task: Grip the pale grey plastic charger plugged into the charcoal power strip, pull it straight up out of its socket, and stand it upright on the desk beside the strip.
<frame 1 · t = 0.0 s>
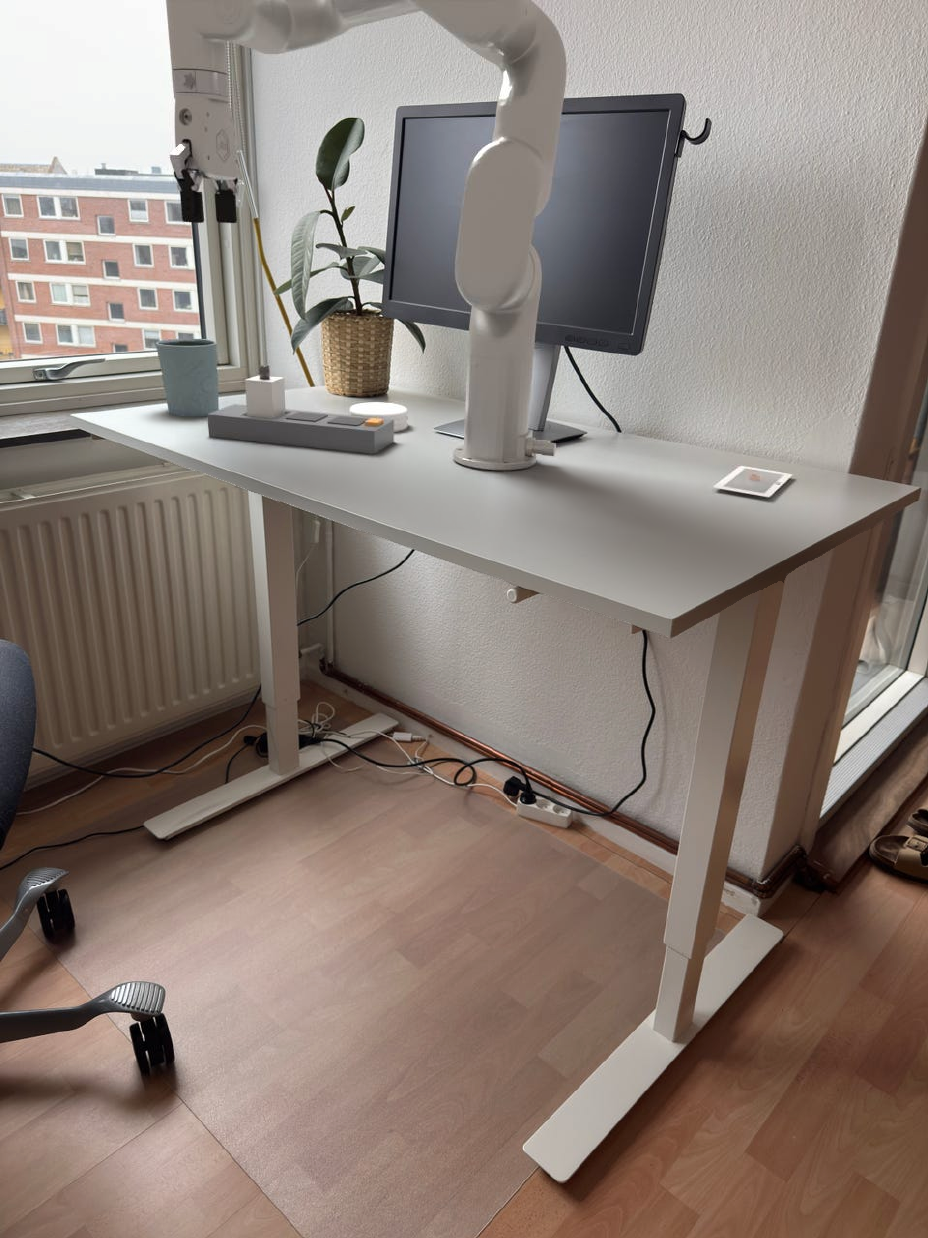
hand: (210, 222, 131), 31 cm above the table, fingers open, 9 cm apart
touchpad: (752, 489, 128), on the table
charger: (267, 435, 143), resting in power strip
power strip: (301, 438, 142), on the table
blue-grey tapered cup: (192, 412, 157), on the table
coaster: (378, 428, 153), on the table
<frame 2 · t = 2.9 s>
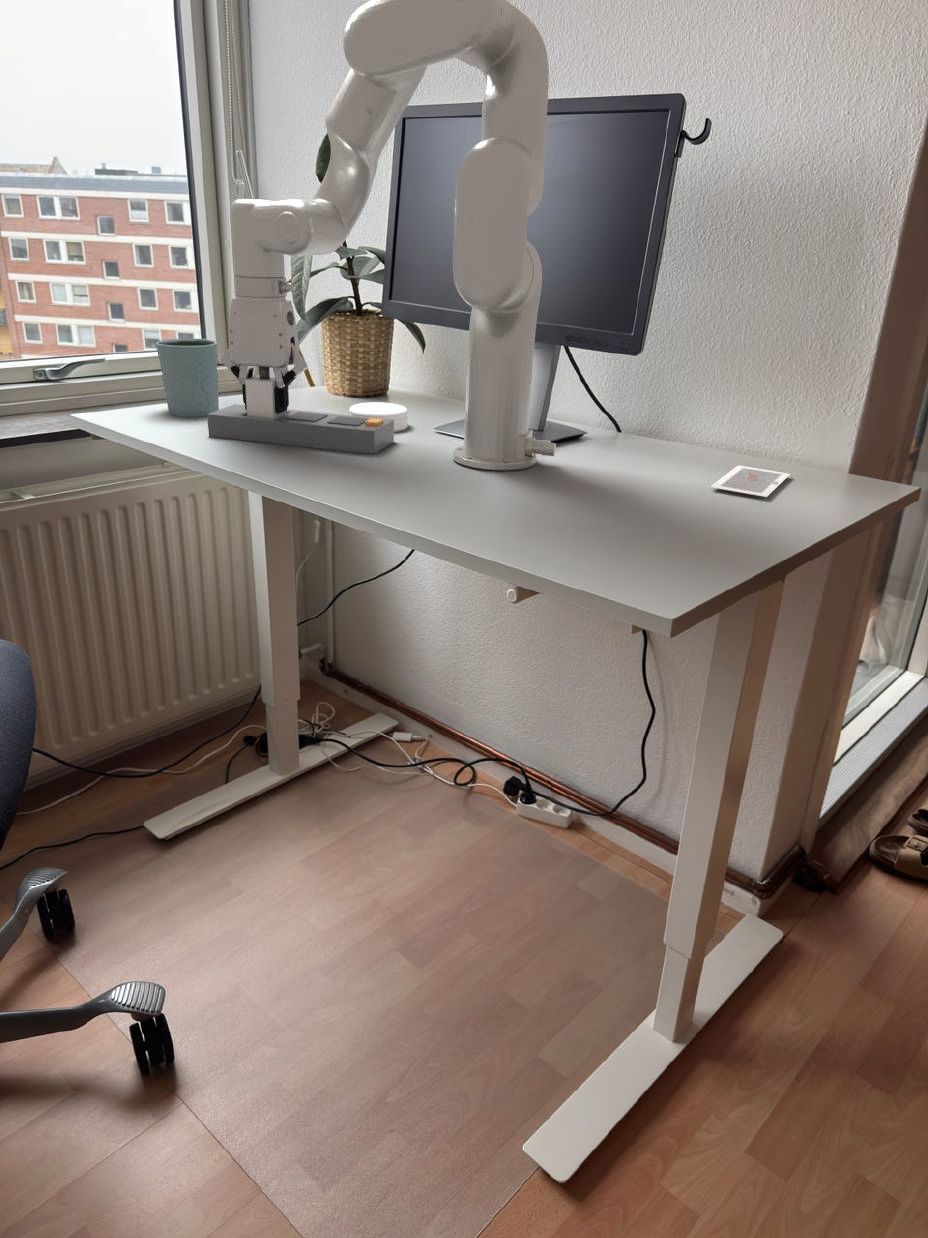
hand: (266, 409, 141), 4 cm above the table, fingers closed on charger, 4 cm apart
charger: (267, 435, 143), resting in power strip, touching gripper
everything else where it was.
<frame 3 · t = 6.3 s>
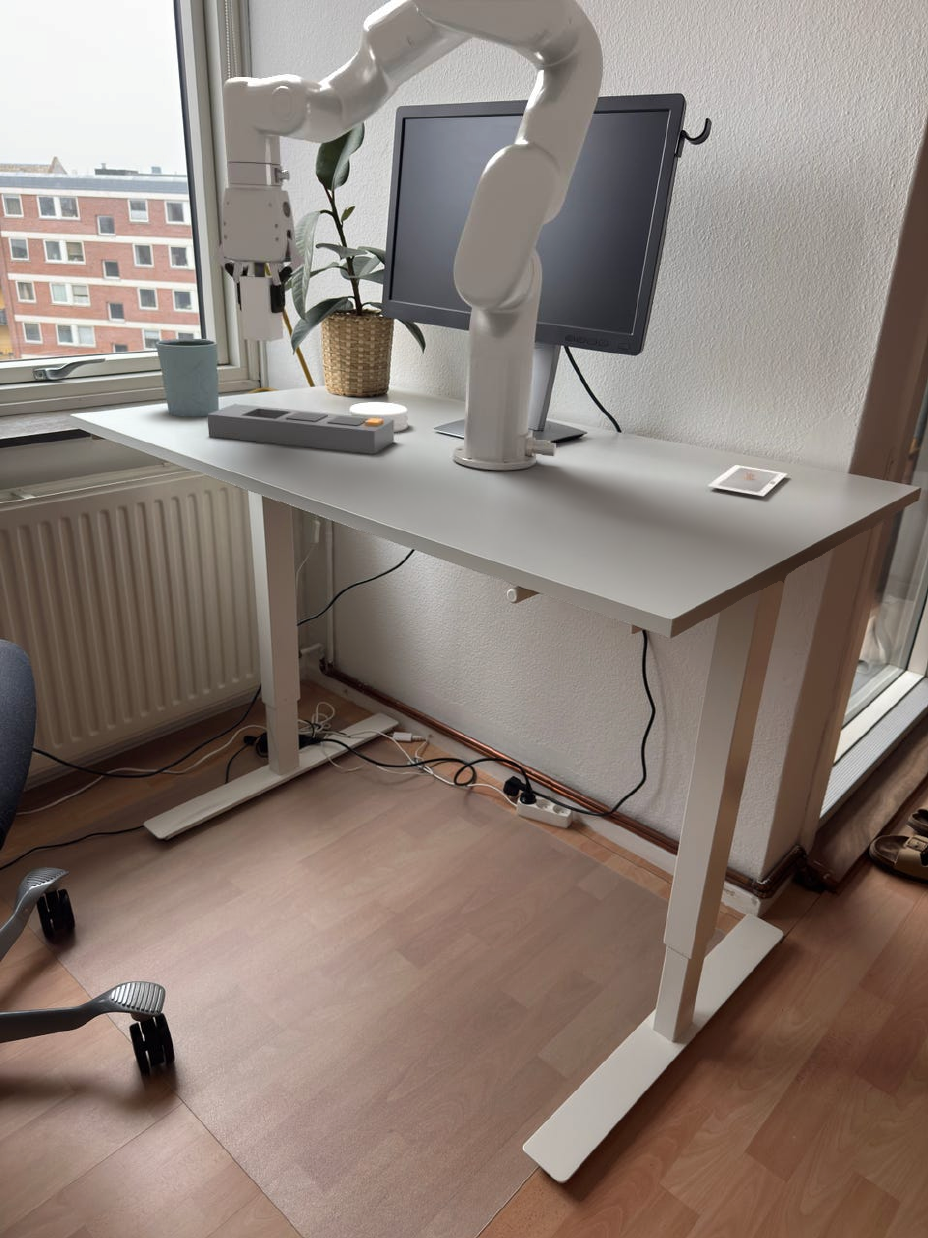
hand: (261, 309, 135), 19 cm above the table, fingers closed on charger, 4 cm apart
charger: (263, 338, 137), point 15 cm above the table, touching gripper
everything else where it was.
when the fingers open (6 cm above the table, at t = 10.0 s): charger drops 1 cm, on the table.
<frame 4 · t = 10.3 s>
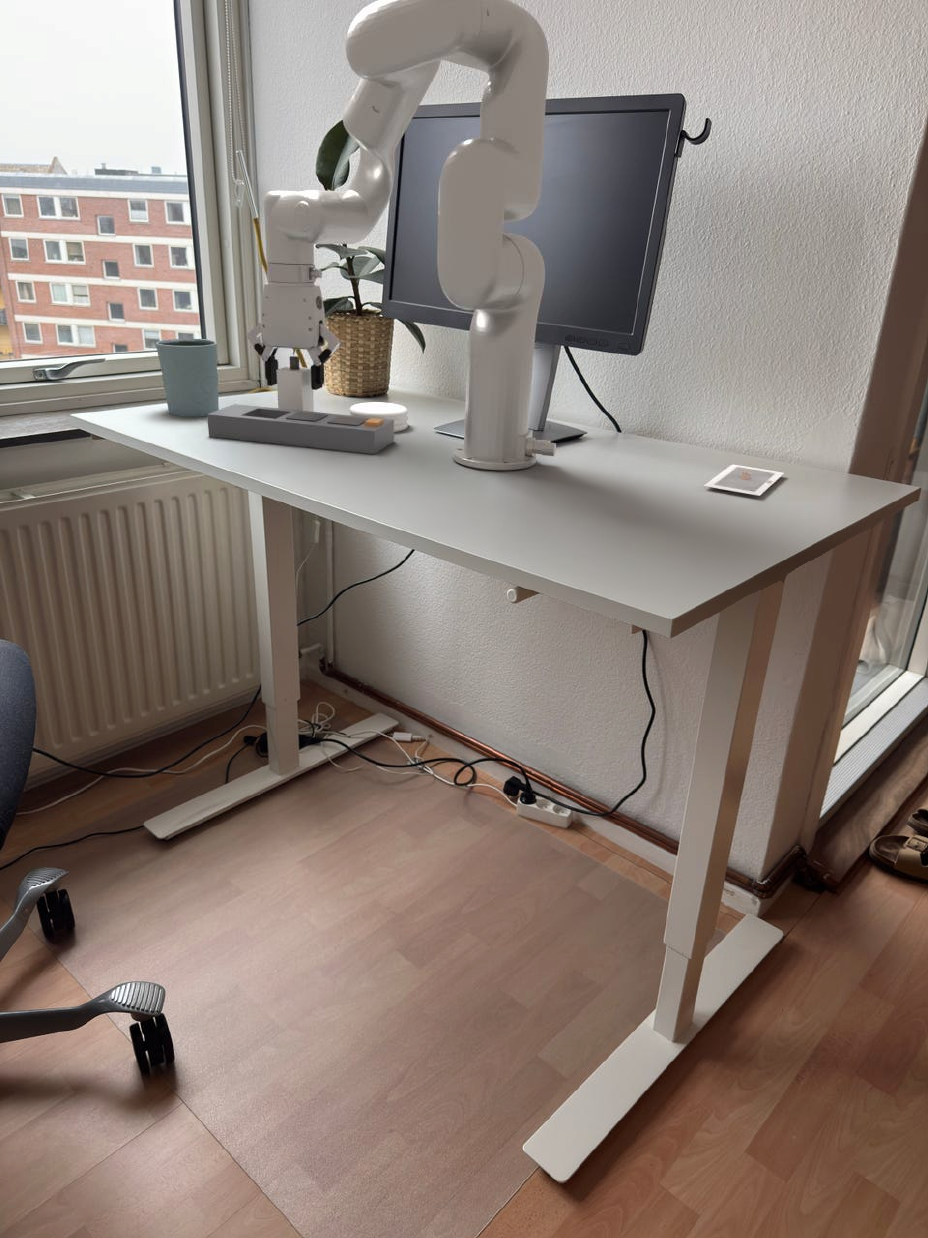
hand: (295, 385, 150), 6 cm above the table, fingers open, 7 cm apart
charger: (296, 422, 153), on the table
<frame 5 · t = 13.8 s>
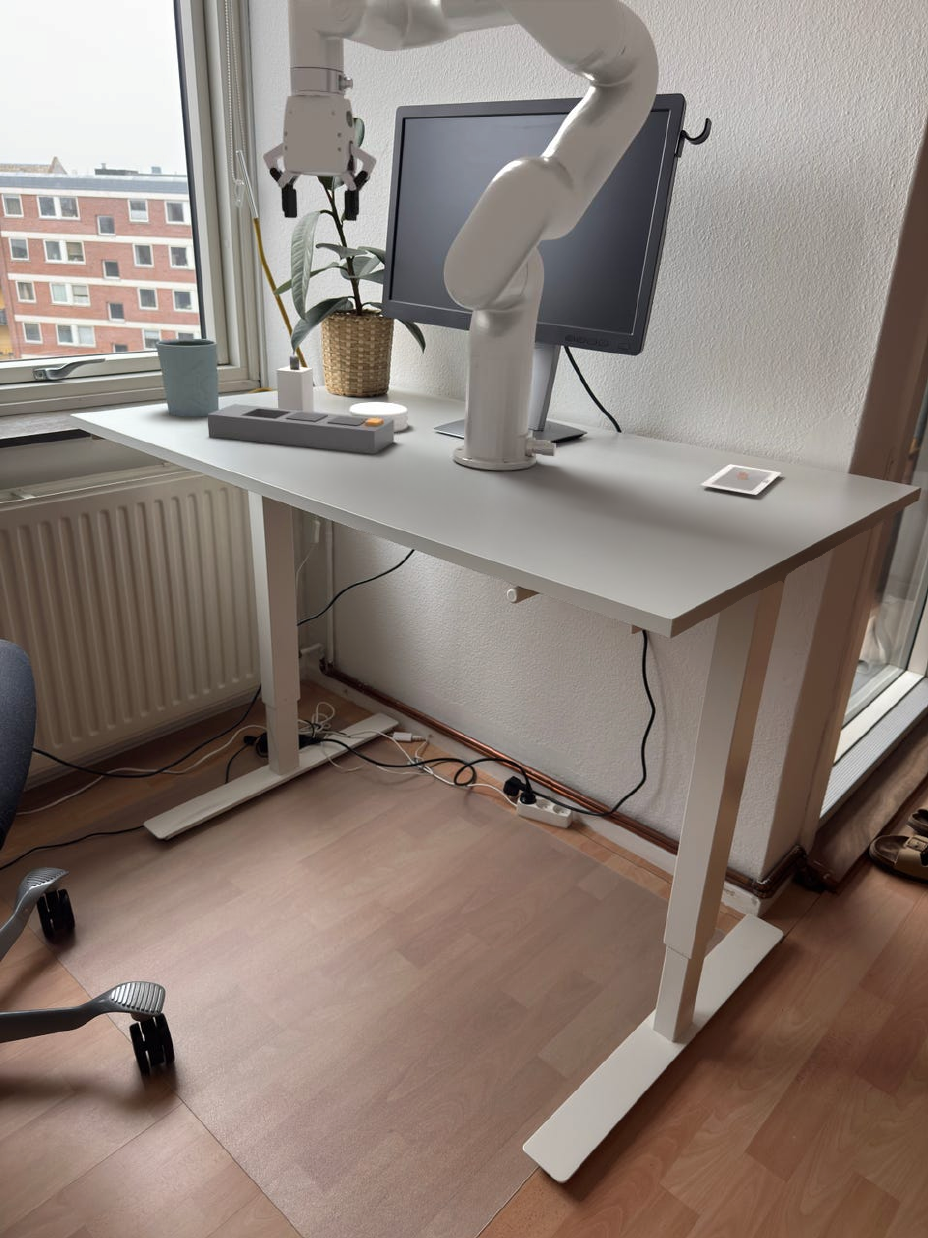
hand: (320, 218, 132), 32 cm above the table, fingers open, 9 cm apart
at the end: charger inside the target area (0.1 cm from its centre), on the table; charger tilted 0°; the gripper is holding nothing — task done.
